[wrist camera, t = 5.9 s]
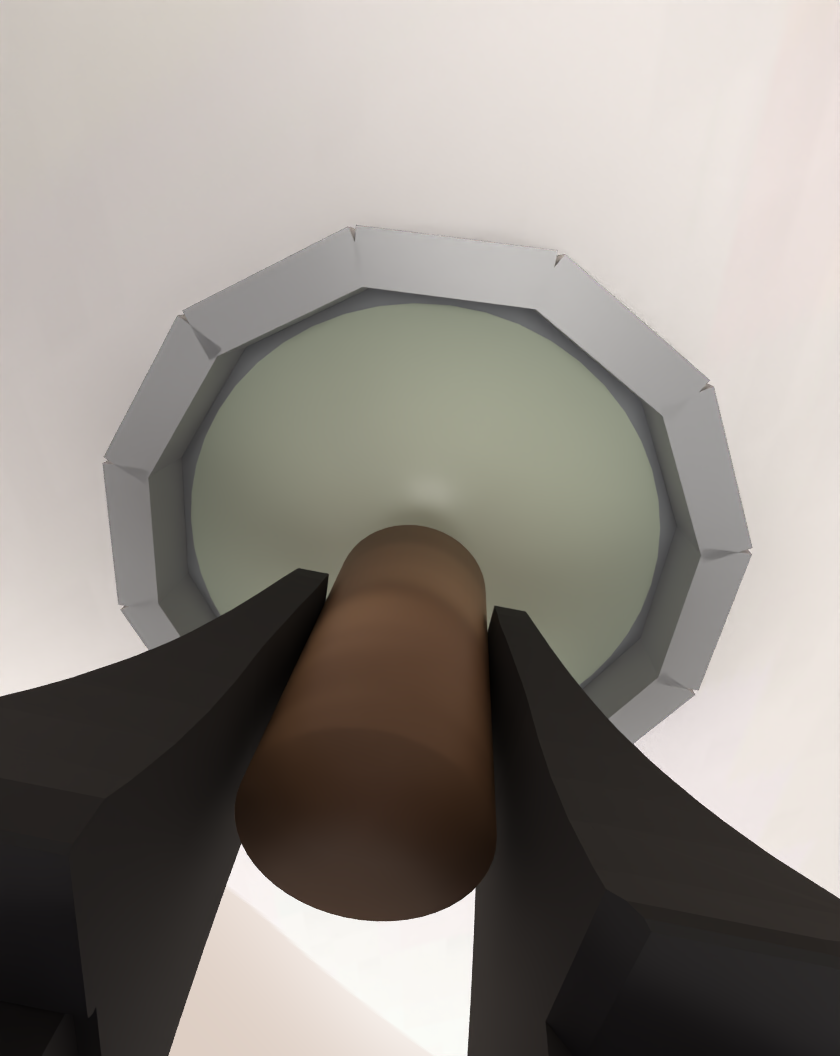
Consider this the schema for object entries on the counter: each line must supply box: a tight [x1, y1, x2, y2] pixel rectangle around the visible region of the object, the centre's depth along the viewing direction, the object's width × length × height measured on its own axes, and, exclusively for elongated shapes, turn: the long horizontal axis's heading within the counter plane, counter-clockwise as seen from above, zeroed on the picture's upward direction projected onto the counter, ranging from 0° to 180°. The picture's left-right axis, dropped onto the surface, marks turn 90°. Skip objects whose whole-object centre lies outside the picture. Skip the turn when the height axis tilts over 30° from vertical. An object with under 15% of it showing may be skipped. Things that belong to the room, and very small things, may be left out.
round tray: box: [103, 225, 752, 744], centre depth 14 cm, size 14×14×2 cm
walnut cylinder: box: [235, 525, 497, 921], centre depth 10 cm, size 3×3×6 cm
